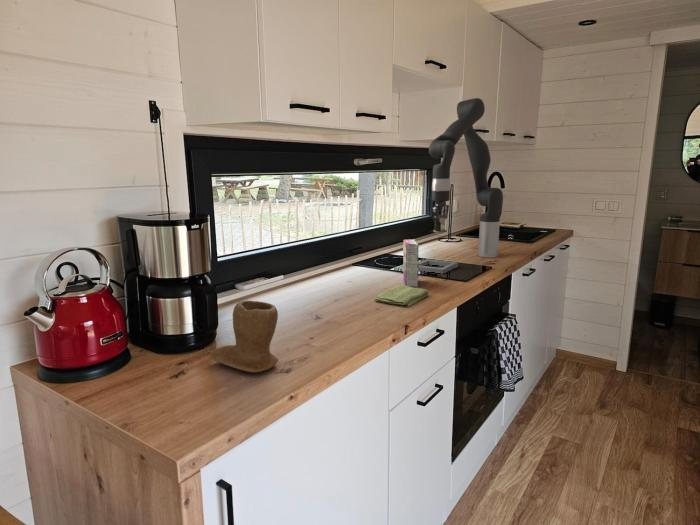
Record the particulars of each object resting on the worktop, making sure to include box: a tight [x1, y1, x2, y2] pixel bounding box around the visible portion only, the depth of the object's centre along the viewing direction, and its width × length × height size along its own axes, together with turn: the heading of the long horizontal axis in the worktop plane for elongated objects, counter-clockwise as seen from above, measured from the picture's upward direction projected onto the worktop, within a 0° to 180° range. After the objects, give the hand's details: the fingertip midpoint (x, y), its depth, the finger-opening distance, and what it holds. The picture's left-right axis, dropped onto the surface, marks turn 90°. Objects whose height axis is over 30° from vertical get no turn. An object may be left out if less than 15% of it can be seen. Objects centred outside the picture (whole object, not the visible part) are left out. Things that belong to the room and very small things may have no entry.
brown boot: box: [208, 300, 279, 373], centre depth 111 cm, size 15×12×15 cm
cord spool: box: [432, 215, 448, 234], centre depth 204 cm, size 6×6×7 cm
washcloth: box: [374, 284, 429, 307], centre depth 164 cm, size 13×18×3 cm
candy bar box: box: [402, 238, 419, 288], centre depth 183 cm, size 11×5×16 cm, turn 179°
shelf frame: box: [418, 258, 459, 275], centre depth 209 cm, size 17×15×2 cm
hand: (439, 229), depth 204 cm, fingers closed on cord spool, 4 cm apart
